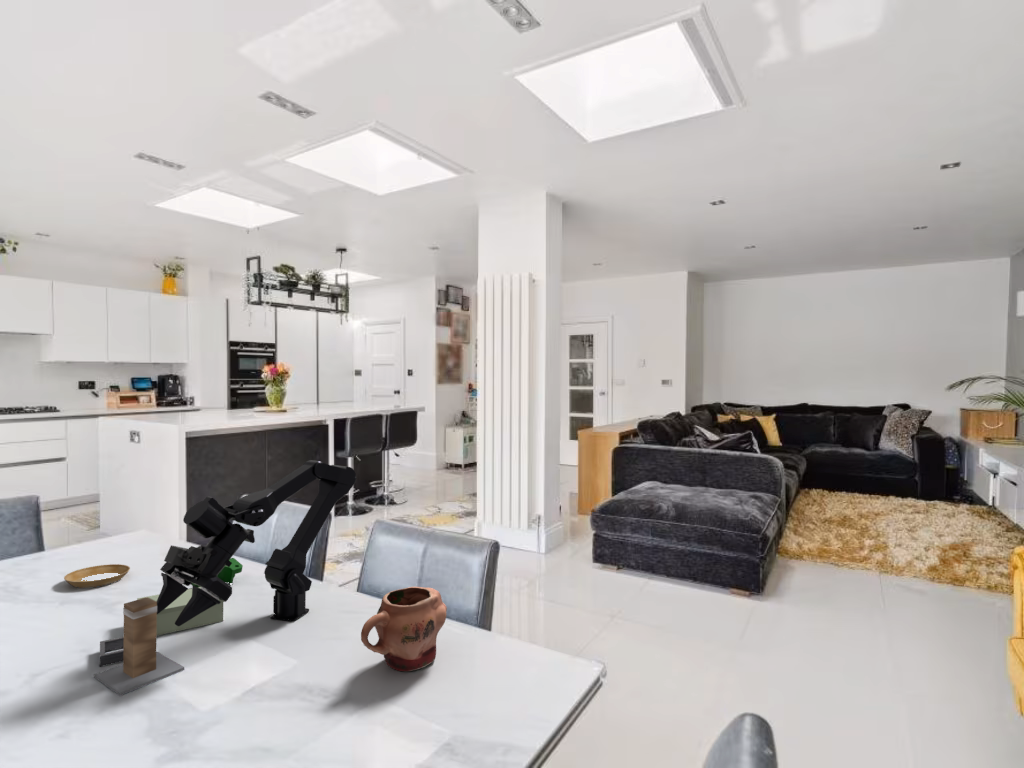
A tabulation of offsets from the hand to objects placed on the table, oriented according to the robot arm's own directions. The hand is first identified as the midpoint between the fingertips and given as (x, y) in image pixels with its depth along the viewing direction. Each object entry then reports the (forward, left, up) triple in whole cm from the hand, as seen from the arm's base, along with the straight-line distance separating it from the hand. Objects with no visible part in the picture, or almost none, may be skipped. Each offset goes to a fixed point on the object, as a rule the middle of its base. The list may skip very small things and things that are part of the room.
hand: (164, 619), depth 111 cm
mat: (+2, +4, -9) cm, 10 cm away
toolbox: (+12, -17, -9) cm, 23 cm away
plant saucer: (+55, -33, -9) cm, 65 cm away
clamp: (+21, -39, -9) cm, 45 cm away
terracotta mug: (-46, -11, -9) cm, 48 cm away
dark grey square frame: (+12, -1, -9) cm, 15 cm away
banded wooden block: (+2, +4, -8) cm, 9 cm away
